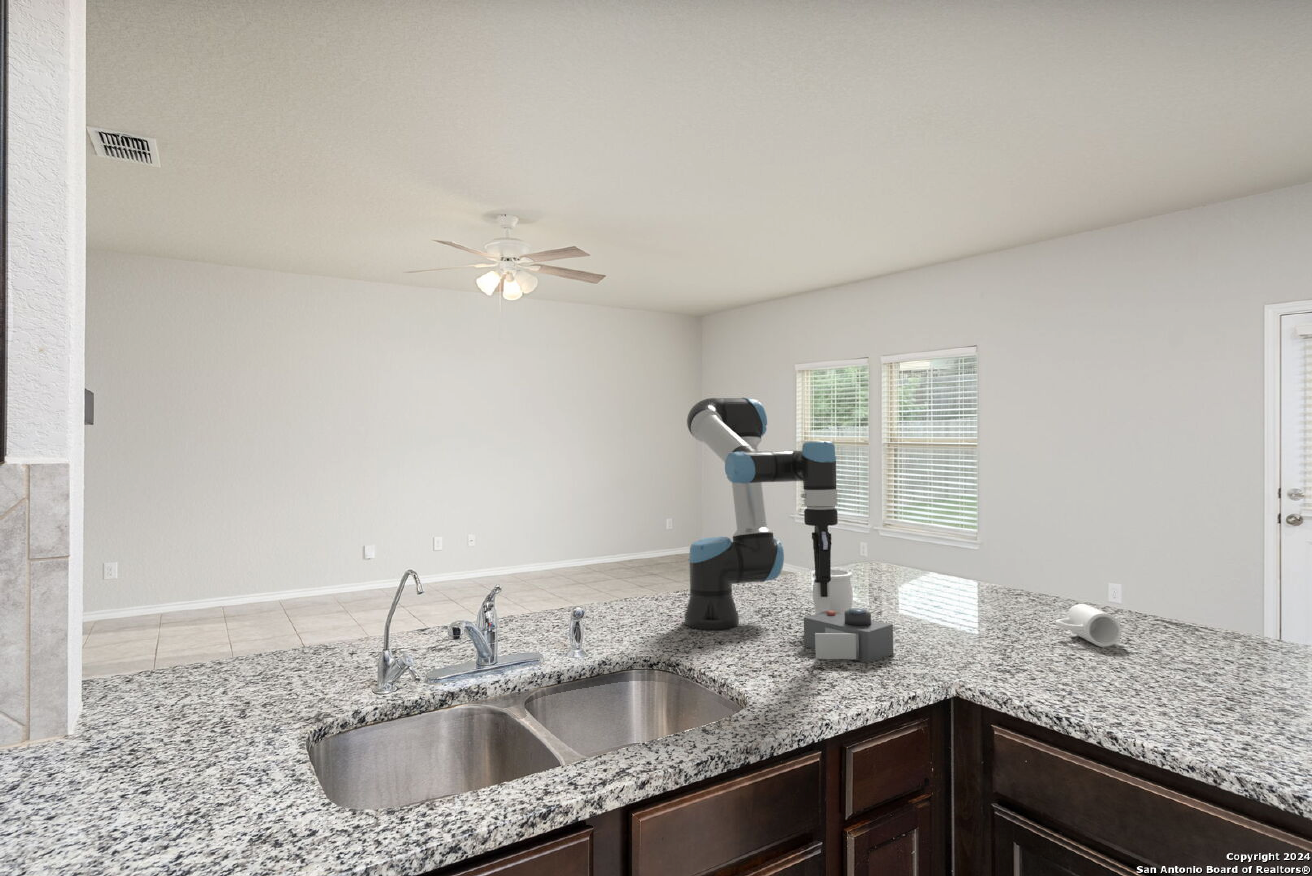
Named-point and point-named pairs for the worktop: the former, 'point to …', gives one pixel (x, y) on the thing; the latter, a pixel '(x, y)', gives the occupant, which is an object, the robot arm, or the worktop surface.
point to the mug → (1091, 625)
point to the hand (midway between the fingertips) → (823, 610)
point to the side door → (837, 645)
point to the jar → (837, 591)
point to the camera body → (853, 631)
